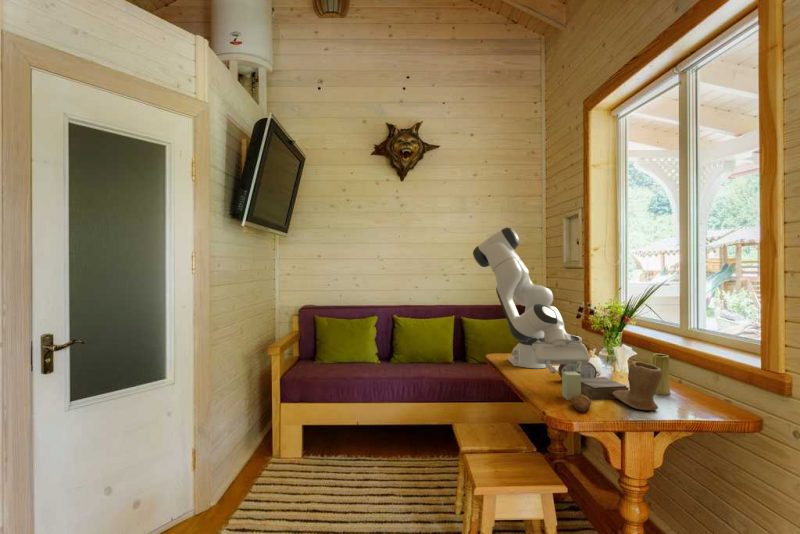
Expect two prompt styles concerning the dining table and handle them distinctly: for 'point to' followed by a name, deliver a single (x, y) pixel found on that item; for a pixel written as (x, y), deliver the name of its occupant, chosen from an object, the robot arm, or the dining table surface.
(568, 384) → the block
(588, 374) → the tin
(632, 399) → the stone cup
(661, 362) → the vase
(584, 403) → the brown rounded lump
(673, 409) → the dining table surface
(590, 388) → the plinth
